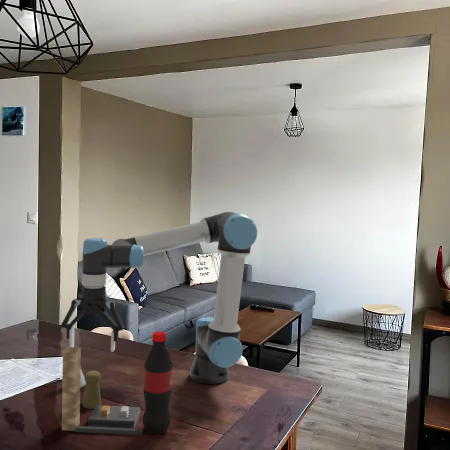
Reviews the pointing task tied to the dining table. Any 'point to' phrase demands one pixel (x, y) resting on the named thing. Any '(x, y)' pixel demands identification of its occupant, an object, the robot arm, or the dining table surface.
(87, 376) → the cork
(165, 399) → the cola bottle
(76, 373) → the oak post
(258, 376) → the dining table surface
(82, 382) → the flask
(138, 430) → the thin curved gray strip
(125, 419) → the breaker panel
